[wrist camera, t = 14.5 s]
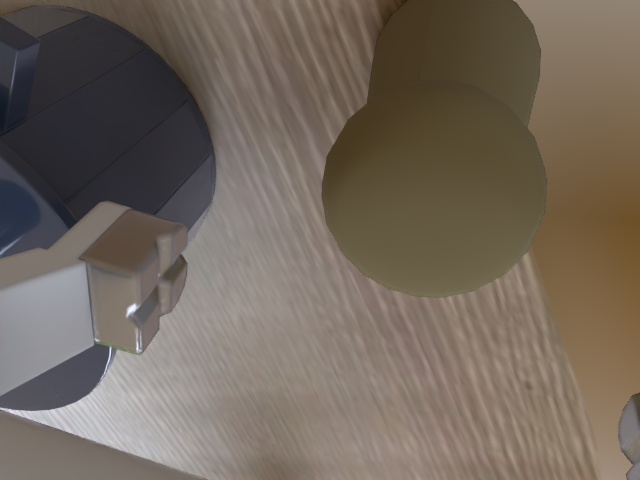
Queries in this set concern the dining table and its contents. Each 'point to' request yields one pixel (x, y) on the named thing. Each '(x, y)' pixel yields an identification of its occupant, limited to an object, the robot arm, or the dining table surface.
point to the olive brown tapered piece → (441, 151)
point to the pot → (102, 116)
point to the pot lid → (42, 232)
